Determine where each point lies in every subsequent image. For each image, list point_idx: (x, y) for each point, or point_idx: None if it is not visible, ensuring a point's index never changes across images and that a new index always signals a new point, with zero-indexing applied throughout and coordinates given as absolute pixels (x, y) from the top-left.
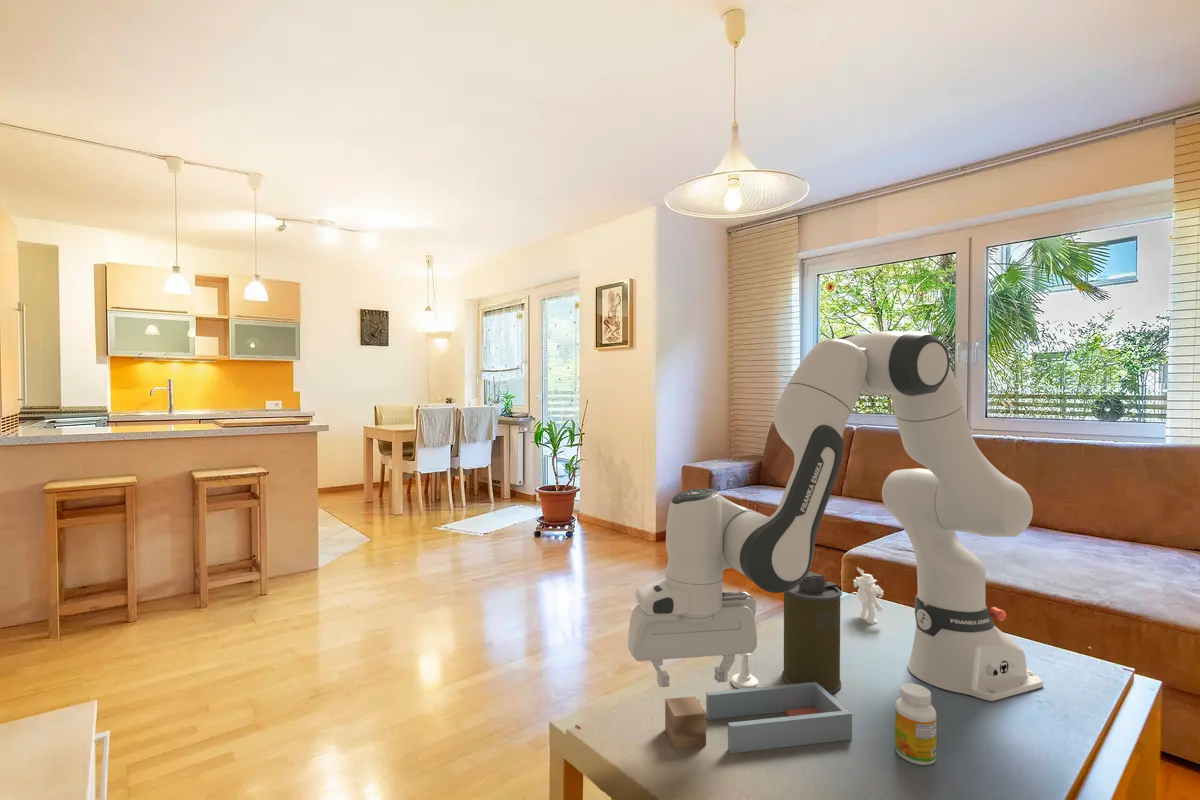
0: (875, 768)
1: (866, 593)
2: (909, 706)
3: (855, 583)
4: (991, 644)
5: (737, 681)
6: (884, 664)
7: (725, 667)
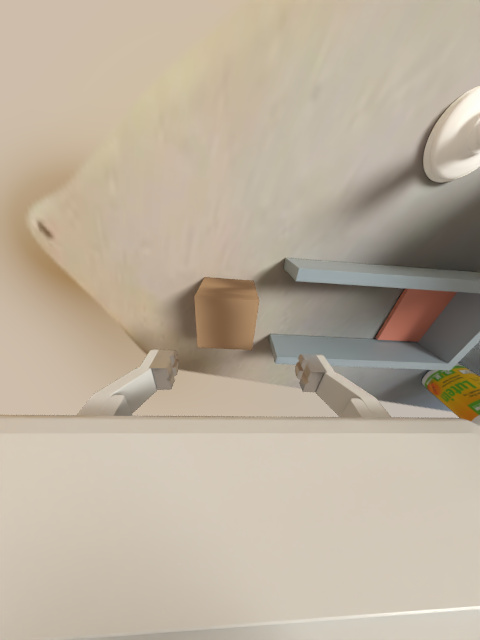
0: (384, 380)
1: None
2: None
3: None
4: None
5: (443, 147)
6: None
7: (325, 399)
